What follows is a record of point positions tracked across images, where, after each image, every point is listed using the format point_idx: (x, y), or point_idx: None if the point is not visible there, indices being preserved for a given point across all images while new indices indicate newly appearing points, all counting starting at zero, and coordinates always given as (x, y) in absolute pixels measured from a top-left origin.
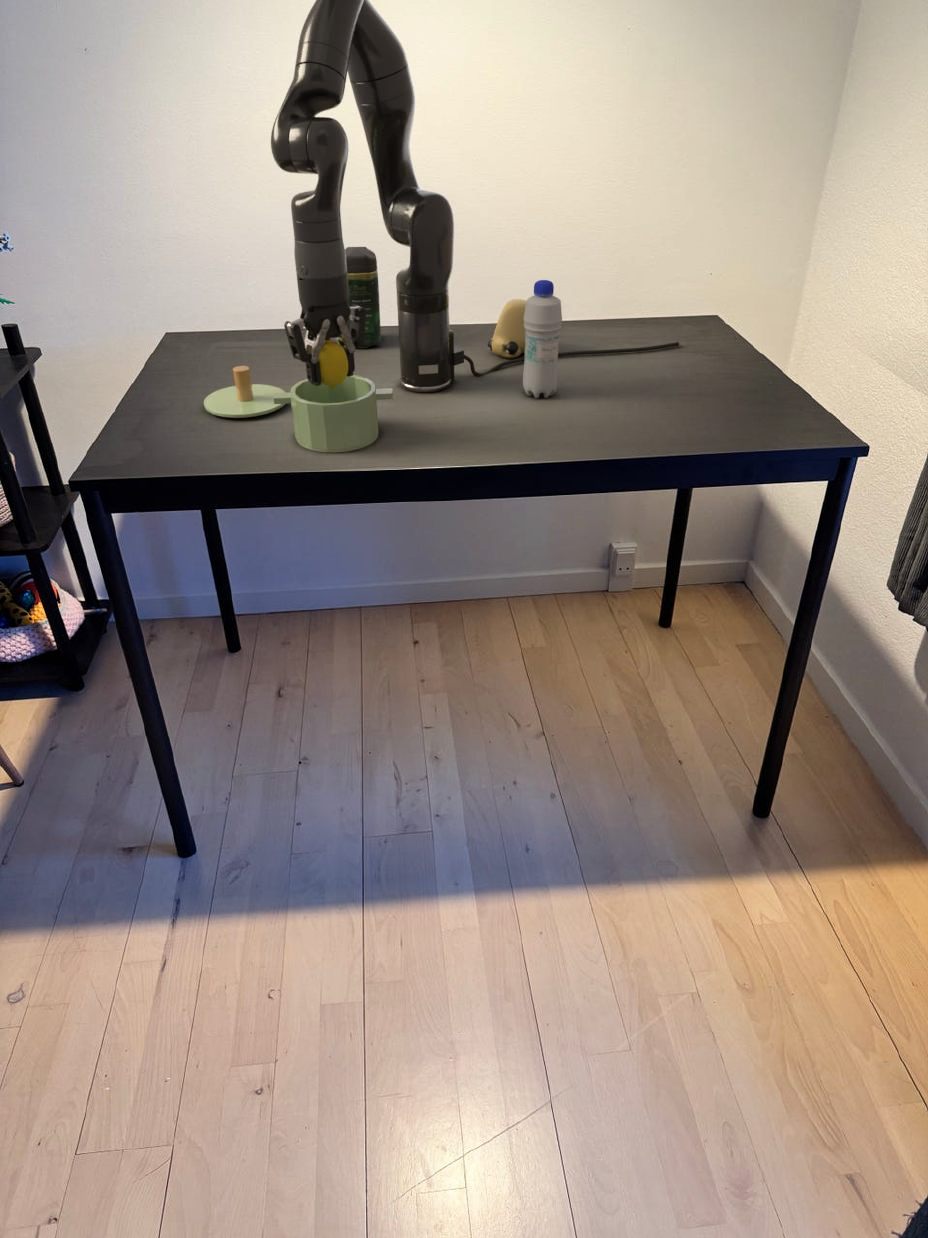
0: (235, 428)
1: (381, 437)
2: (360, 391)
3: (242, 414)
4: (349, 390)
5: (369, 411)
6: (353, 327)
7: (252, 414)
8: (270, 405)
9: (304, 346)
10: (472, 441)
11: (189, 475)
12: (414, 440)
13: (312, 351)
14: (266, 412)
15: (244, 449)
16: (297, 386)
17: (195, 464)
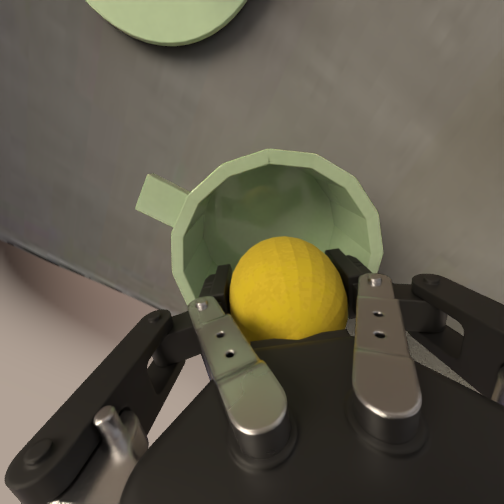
0: (103, 73)
1: None
2: (354, 227)
3: (121, 29)
4: (342, 198)
5: None
6: (468, 344)
7: (145, 41)
8: (200, 10)
9: (162, 401)
10: (411, 349)
11: (2, 237)
12: None
13: (205, 366)
14: (181, 44)
15: (103, 192)
16: (206, 195)
17: (12, 203)
